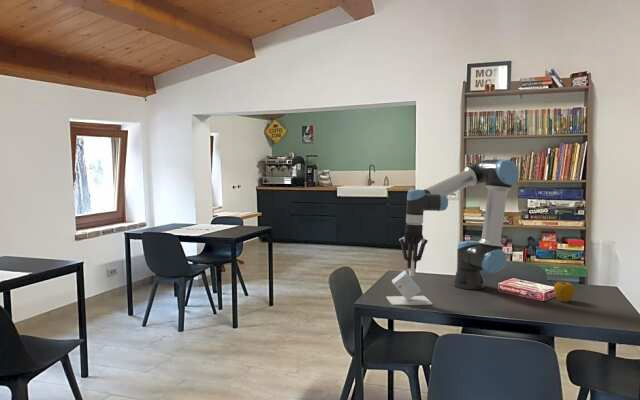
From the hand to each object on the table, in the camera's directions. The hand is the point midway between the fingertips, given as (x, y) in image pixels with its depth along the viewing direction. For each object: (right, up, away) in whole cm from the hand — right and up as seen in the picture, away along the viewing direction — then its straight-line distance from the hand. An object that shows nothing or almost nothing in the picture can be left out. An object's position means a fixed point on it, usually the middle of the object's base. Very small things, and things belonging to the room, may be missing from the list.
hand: (411, 275), depth 214 cm
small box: (+1, -9, +1) cm, 9 cm away
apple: (+70, -12, +2) cm, 71 cm away
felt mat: (-1, -12, +1) cm, 12 cm away
